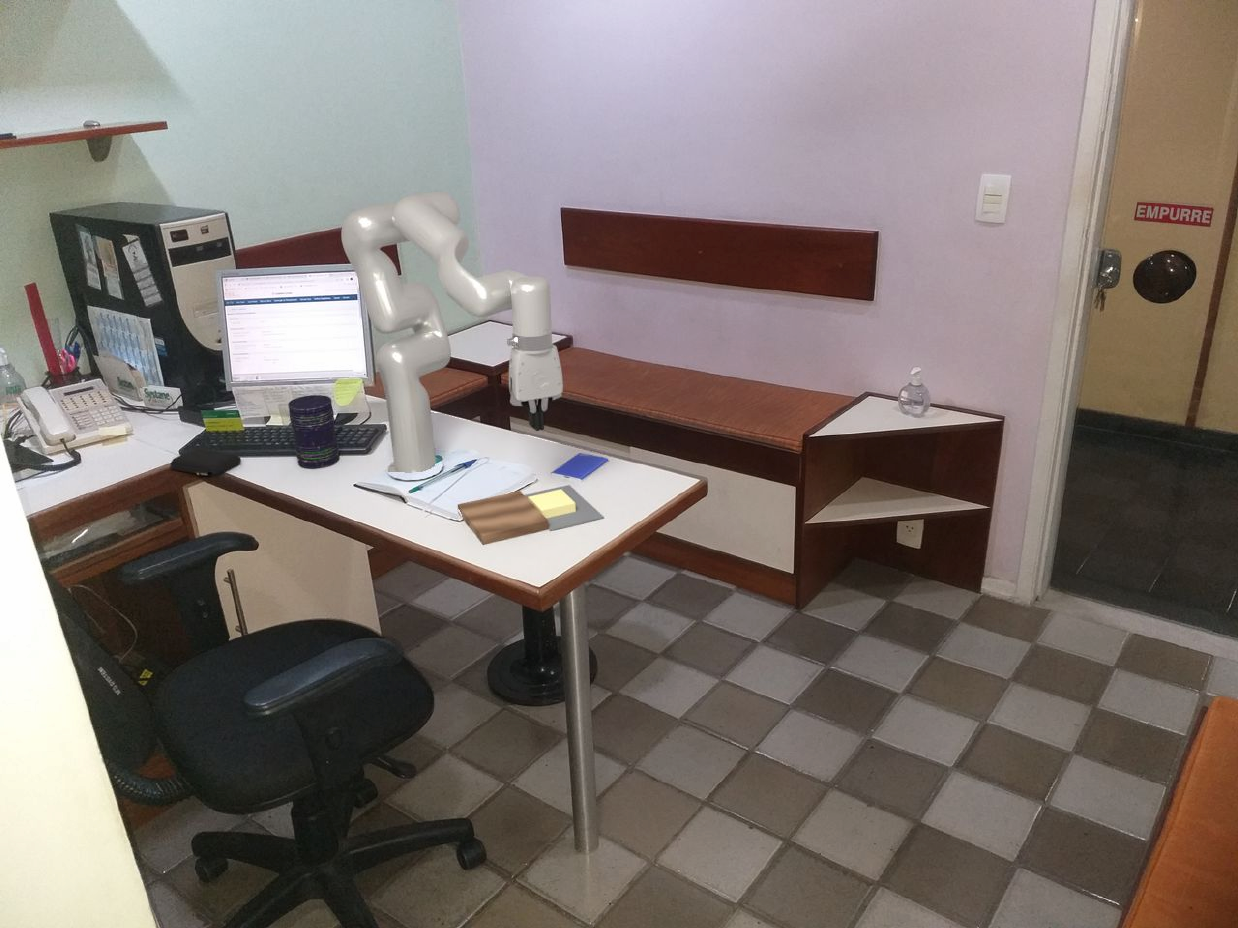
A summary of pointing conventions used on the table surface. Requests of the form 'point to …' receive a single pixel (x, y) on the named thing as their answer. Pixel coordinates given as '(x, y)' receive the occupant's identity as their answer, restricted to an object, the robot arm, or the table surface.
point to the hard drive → (580, 467)
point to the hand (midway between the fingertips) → (537, 428)
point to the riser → (502, 517)
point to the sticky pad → (553, 503)
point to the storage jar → (314, 431)
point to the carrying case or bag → (205, 462)
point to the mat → (581, 515)
